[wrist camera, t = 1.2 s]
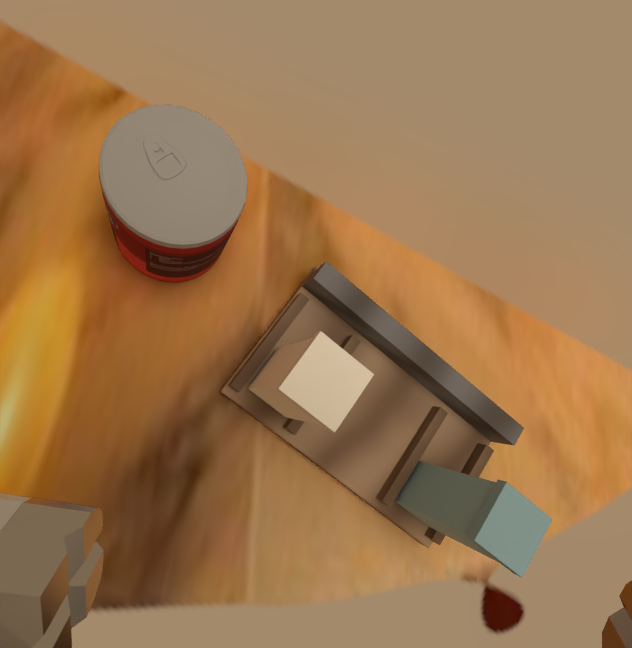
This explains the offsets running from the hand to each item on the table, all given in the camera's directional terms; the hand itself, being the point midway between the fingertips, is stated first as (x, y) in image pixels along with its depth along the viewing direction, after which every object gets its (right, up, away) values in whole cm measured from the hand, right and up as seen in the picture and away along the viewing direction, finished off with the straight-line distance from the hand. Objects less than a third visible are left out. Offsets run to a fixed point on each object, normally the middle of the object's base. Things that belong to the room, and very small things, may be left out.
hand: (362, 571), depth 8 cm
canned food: (-11, +11, +30) cm, 34 cm away
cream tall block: (-3, 0, +30) cm, 30 cm away
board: (+3, -3, +33) cm, 33 cm away
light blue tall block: (+7, -9, +32) cm, 34 cm away
